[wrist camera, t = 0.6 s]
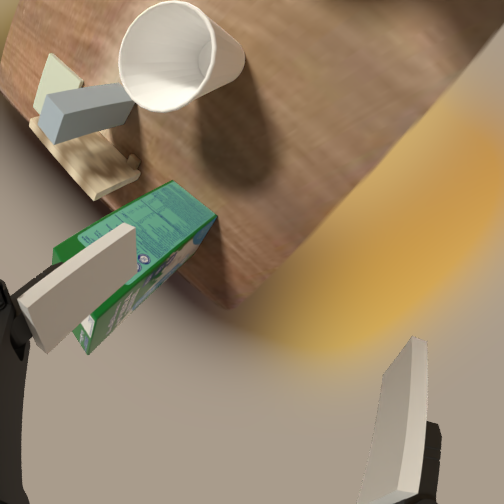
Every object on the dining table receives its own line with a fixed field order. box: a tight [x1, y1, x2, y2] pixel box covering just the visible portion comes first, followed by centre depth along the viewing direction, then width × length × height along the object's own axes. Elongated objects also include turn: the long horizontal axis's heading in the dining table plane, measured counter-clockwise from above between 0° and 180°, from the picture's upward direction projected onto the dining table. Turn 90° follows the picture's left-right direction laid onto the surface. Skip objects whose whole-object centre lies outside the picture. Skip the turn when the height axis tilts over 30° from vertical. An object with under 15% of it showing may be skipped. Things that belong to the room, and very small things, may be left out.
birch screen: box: [29, 116, 141, 201], centre depth 44 cm, size 20×5×10 cm, turn 51°
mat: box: [33, 53, 84, 114], centre depth 47 cm, size 13×13×1 cm
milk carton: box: [52, 180, 217, 355], centre depth 39 cm, size 9×9×25 cm
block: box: [38, 83, 135, 145], centre depth 38 cm, size 5×5×14 cm
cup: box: [118, 0, 245, 113], centre depth 30 cm, size 12×12×12 cm
